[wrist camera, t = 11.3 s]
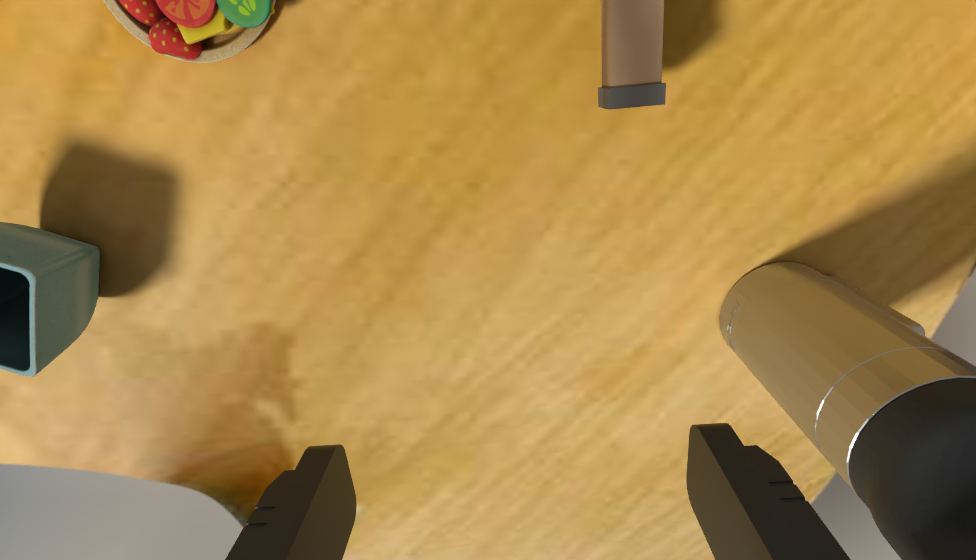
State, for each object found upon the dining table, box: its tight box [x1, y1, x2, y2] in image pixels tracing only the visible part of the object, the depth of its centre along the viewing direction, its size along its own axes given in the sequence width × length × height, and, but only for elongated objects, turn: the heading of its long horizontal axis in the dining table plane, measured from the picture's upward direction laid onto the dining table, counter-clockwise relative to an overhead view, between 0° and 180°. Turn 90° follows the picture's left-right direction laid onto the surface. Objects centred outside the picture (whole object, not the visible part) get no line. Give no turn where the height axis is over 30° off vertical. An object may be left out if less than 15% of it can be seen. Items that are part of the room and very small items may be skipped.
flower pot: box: [0, 222, 100, 376], centre depth 39 cm, size 9×9×9 cm
